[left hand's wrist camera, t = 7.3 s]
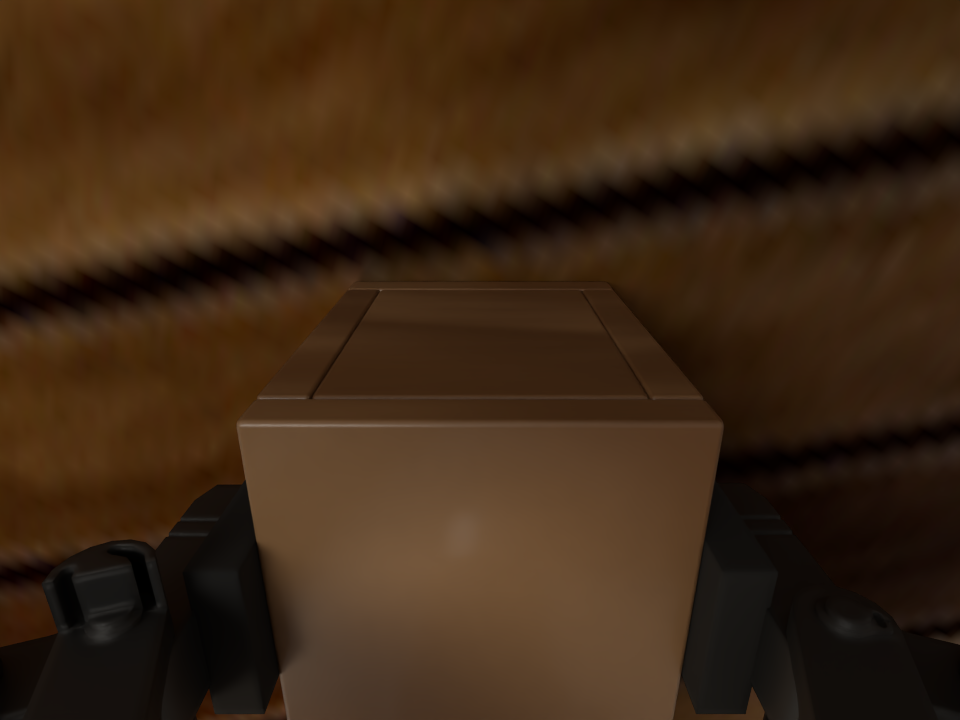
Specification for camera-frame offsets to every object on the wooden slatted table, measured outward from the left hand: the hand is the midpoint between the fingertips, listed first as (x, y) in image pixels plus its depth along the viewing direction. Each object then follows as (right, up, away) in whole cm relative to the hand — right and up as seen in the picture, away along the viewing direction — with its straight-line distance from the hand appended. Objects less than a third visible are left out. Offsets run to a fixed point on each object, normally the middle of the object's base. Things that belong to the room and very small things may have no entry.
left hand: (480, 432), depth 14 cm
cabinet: (0, -4, +4) cm, 5 cm away
